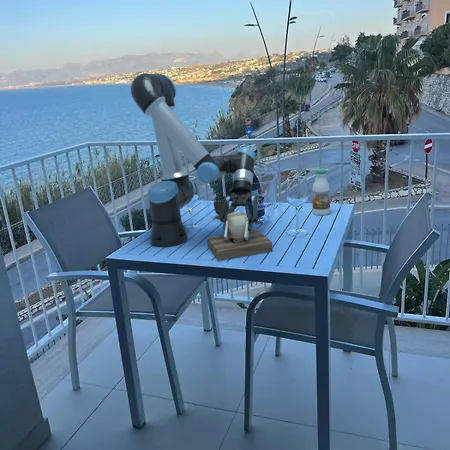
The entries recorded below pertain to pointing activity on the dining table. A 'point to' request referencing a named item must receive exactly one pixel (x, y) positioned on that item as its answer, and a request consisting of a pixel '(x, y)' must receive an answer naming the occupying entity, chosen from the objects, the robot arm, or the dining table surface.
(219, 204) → the cup
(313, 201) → the milk bottle
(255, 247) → the walnut board
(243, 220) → the ash peg
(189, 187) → the robot arm
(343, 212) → the dining table surface
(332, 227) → the dining table surface
